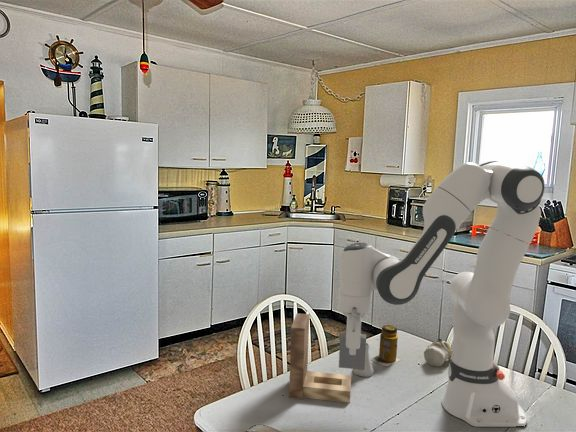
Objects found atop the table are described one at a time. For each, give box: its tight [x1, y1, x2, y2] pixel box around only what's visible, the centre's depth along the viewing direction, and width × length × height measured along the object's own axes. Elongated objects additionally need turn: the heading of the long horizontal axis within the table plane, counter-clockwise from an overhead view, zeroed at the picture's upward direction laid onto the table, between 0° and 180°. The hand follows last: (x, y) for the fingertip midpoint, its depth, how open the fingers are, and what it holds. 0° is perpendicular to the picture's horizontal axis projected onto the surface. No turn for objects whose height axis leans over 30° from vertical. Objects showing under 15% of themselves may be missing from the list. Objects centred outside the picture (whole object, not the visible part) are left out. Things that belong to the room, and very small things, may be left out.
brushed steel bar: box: [338, 331, 367, 370], centre depth 127 cm, size 7×3×9 cm, turn 81°
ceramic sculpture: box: [423, 338, 452, 367], centre depth 164 cm, size 11×9×15 cm
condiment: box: [370, 324, 401, 367], centre depth 163 cm, size 7×8×12 cm
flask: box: [352, 342, 375, 378], centre depth 154 cm, size 7×7×10 cm
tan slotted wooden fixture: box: [288, 312, 352, 404], centre depth 140 cm, size 18×12×22 cm, turn 81°
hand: (352, 350), depth 127 cm, fingers closed on brushed steel bar, 3 cm apart
